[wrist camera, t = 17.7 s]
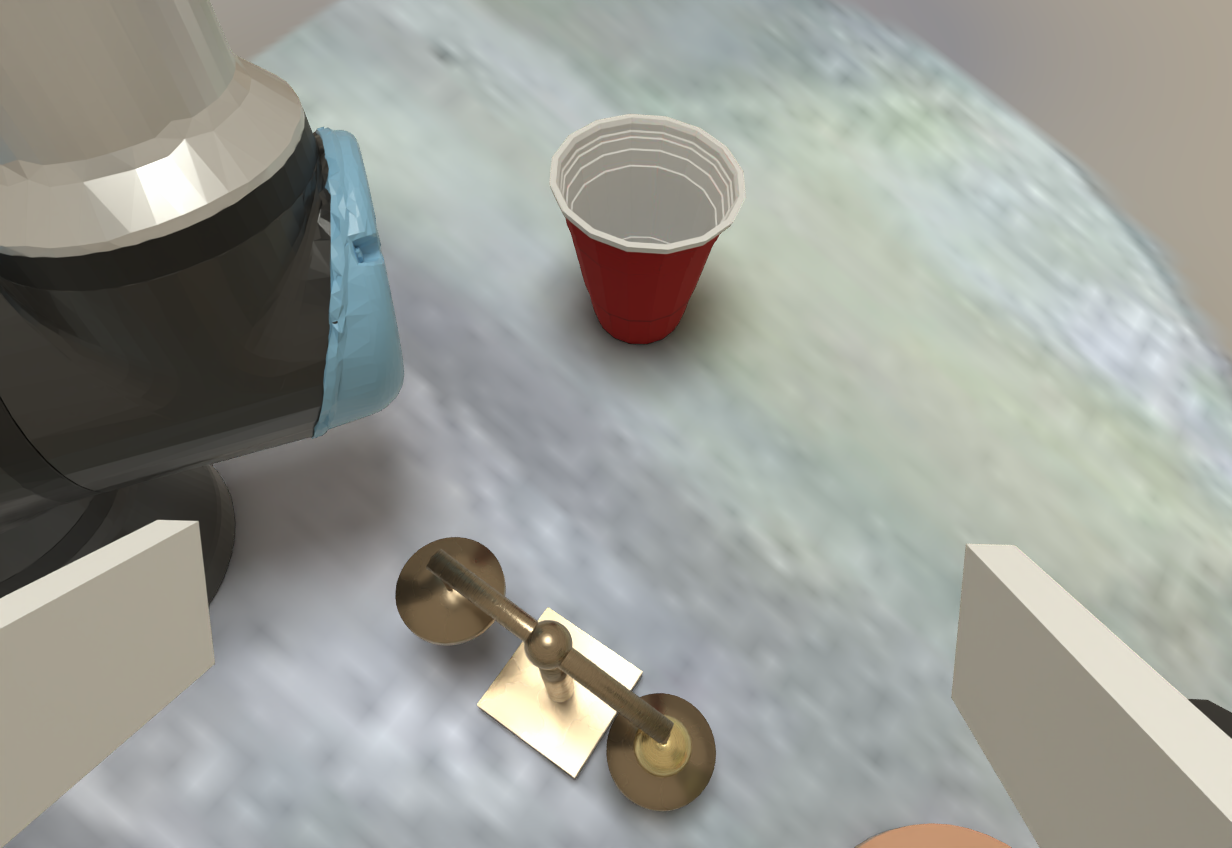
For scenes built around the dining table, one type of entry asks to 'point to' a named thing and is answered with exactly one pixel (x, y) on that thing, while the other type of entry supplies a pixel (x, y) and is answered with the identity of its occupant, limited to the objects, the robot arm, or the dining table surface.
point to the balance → (559, 680)
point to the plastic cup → (644, 215)
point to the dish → (932, 838)
